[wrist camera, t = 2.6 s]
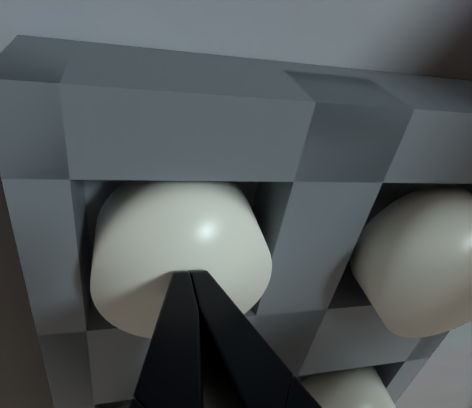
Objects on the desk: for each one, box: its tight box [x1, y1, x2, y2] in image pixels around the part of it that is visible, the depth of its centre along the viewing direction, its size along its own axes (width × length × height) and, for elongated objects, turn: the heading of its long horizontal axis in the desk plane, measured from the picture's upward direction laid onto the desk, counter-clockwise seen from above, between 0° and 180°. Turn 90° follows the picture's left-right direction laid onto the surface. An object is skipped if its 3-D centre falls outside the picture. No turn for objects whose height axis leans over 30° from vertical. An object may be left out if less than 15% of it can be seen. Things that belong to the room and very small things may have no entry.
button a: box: [350, 185, 472, 338], centre depth 11 cm, size 4×4×2 cm
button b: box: [90, 180, 272, 338], centre depth 10 cm, size 4×4×2 cm
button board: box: [0, 35, 472, 408], centre depth 15 cm, size 15×18×3 cm
